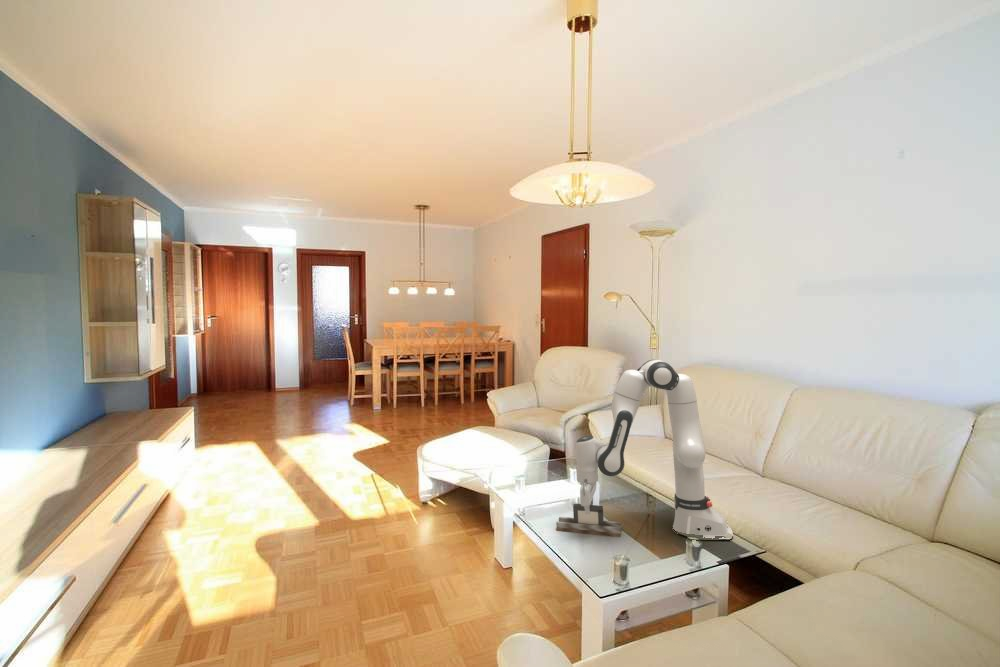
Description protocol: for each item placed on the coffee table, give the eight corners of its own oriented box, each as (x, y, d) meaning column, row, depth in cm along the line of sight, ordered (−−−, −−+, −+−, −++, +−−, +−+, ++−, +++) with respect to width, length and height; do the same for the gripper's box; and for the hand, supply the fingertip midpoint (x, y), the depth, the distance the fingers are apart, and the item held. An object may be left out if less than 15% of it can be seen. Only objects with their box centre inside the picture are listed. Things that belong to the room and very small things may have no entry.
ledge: (621, 528, 201) (621, 521, 201) (620, 537, 193) (619, 529, 193) (560, 522, 209) (559, 515, 209) (556, 530, 202) (555, 523, 202)
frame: (603, 527, 200) (603, 505, 200) (603, 529, 198) (602, 508, 198) (575, 524, 204) (574, 503, 204) (573, 527, 202) (573, 505, 202)
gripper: (591, 484, 190) (593, 519, 190) (598, 468, 209) (600, 500, 209) (575, 484, 192) (577, 518, 192) (583, 468, 211) (585, 499, 211)
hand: (589, 509), depth 201 cm, fingers open, 8 cm apart
